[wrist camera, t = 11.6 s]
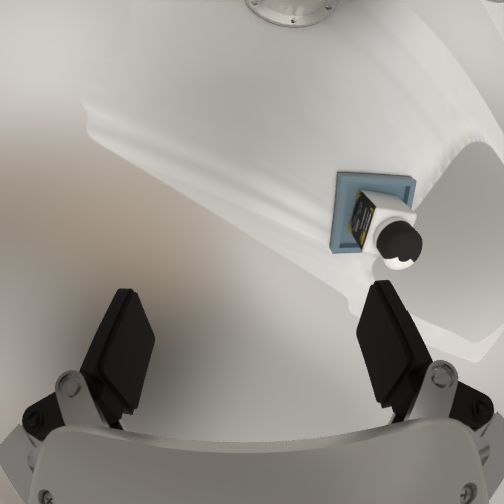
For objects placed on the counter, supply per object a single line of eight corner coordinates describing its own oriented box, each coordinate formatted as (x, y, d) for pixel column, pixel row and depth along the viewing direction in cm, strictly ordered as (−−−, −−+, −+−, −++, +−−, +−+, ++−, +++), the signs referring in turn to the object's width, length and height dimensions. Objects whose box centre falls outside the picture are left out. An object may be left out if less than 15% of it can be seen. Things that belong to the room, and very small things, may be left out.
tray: (337, 171, 38) (341, 176, 36) (410, 176, 37) (416, 180, 36) (329, 247, 45) (332, 253, 43) (395, 245, 45) (400, 251, 43)
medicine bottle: (358, 188, 38) (392, 225, 28) (396, 195, 39) (435, 232, 29) (347, 229, 42) (374, 275, 32) (384, 233, 43) (416, 277, 33)
